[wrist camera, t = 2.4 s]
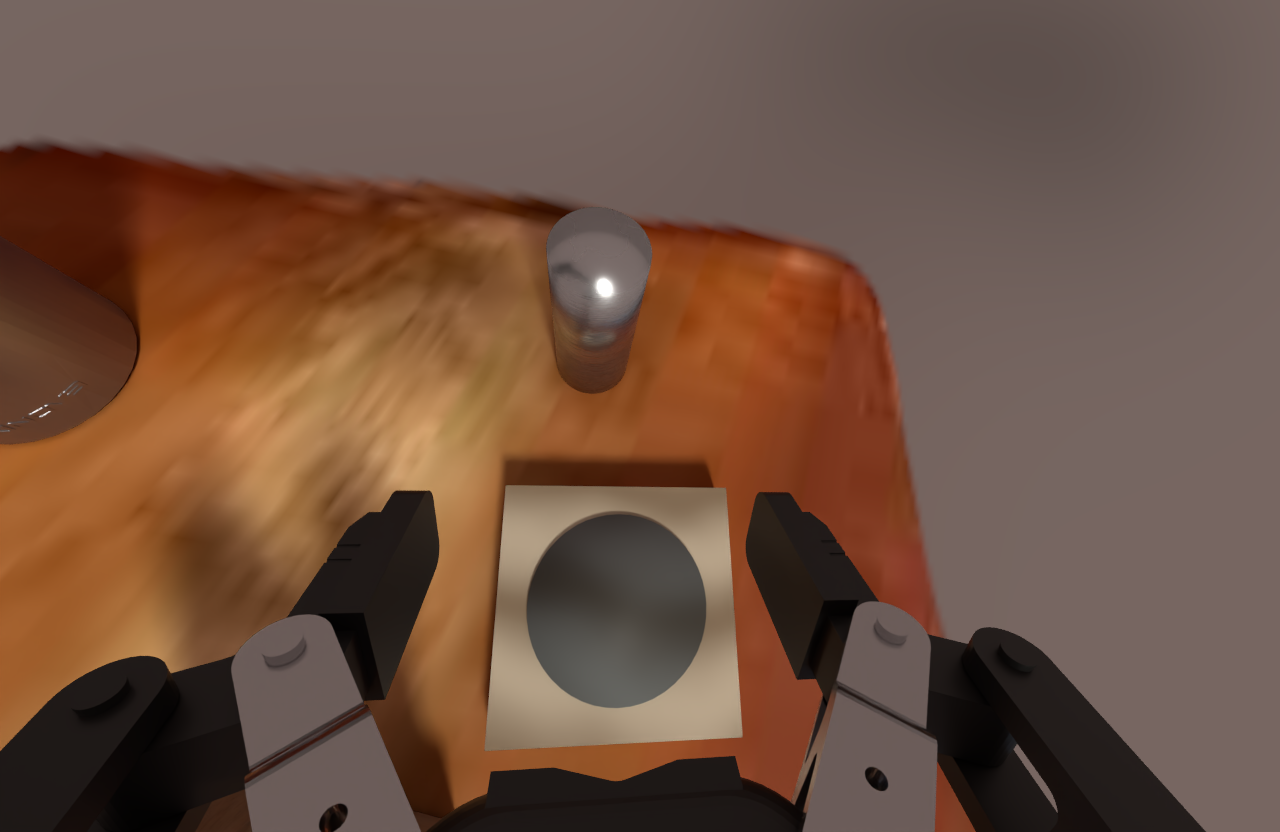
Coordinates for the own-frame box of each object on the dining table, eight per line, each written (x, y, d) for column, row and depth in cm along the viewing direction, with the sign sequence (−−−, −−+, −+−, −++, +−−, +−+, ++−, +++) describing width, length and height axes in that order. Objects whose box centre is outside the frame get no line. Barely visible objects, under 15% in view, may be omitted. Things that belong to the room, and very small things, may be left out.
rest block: (510, 491, 27) (505, 484, 25) (716, 493, 28) (726, 487, 26) (491, 736, 23) (483, 752, 21) (729, 724, 25) (743, 738, 23)
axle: (542, 355, 30) (524, 239, 20) (597, 318, 31) (607, 191, 21) (586, 407, 29) (591, 315, 19) (640, 367, 30) (673, 260, 20)
